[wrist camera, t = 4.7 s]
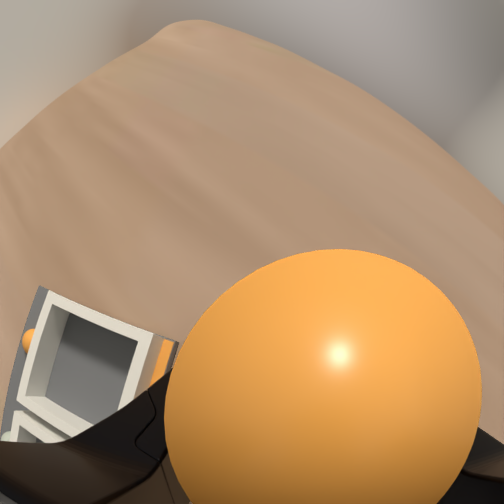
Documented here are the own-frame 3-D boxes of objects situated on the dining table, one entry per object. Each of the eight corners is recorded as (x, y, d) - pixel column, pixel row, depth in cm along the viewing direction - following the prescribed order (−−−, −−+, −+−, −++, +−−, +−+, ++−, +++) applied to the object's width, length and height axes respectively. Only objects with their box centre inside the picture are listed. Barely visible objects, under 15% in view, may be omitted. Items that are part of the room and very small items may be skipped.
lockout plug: (305, 440, 13) (432, 550, 2) (216, 420, 14) (131, 517, 3) (328, 356, 15) (491, 287, 4) (241, 335, 15) (224, 214, 4)
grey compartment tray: (112, 601, 8) (98, 618, 5) (3, 533, 9) (-17, 540, 6) (178, 342, 16) (165, 335, 14) (45, 289, 17) (21, 274, 14)
